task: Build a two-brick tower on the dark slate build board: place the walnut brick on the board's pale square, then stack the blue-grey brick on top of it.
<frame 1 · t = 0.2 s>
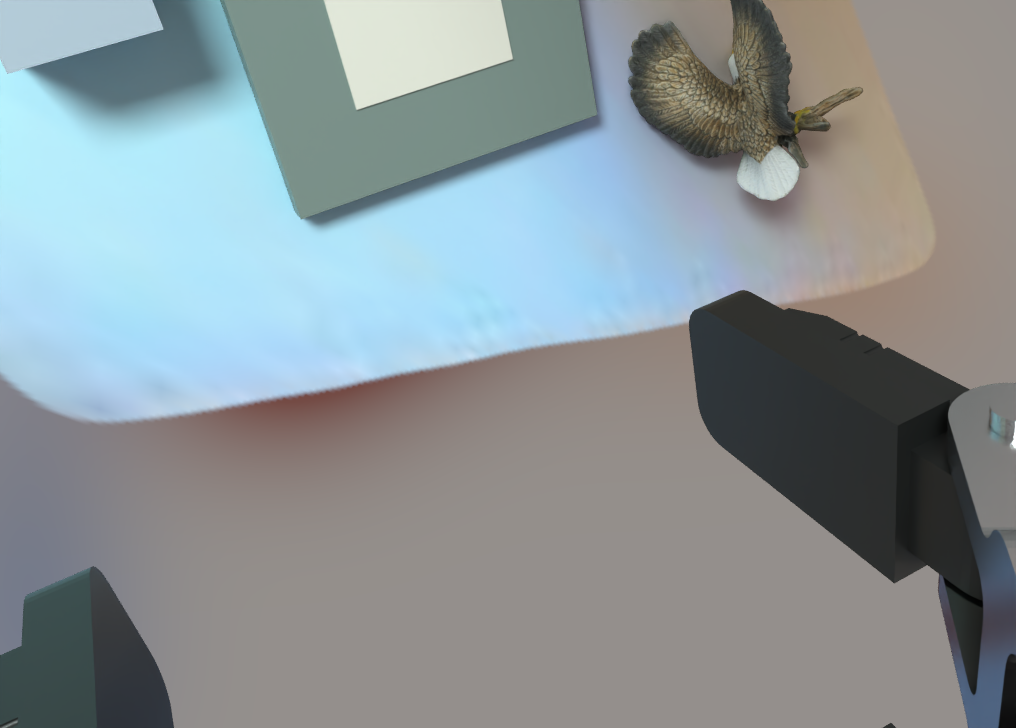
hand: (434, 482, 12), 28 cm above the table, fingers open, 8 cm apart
eagle figurine: (705, 84, 44), on the table
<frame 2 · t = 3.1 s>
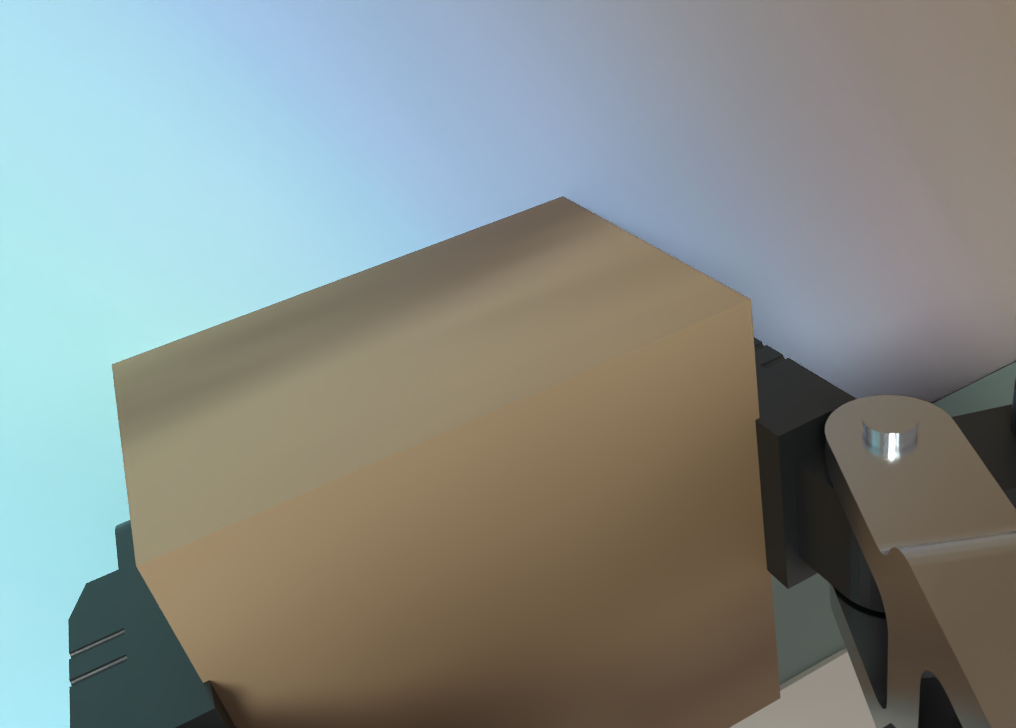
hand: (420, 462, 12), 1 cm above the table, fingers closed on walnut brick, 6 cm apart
walnut brick: (414, 461, 13), on the table, touching gripper
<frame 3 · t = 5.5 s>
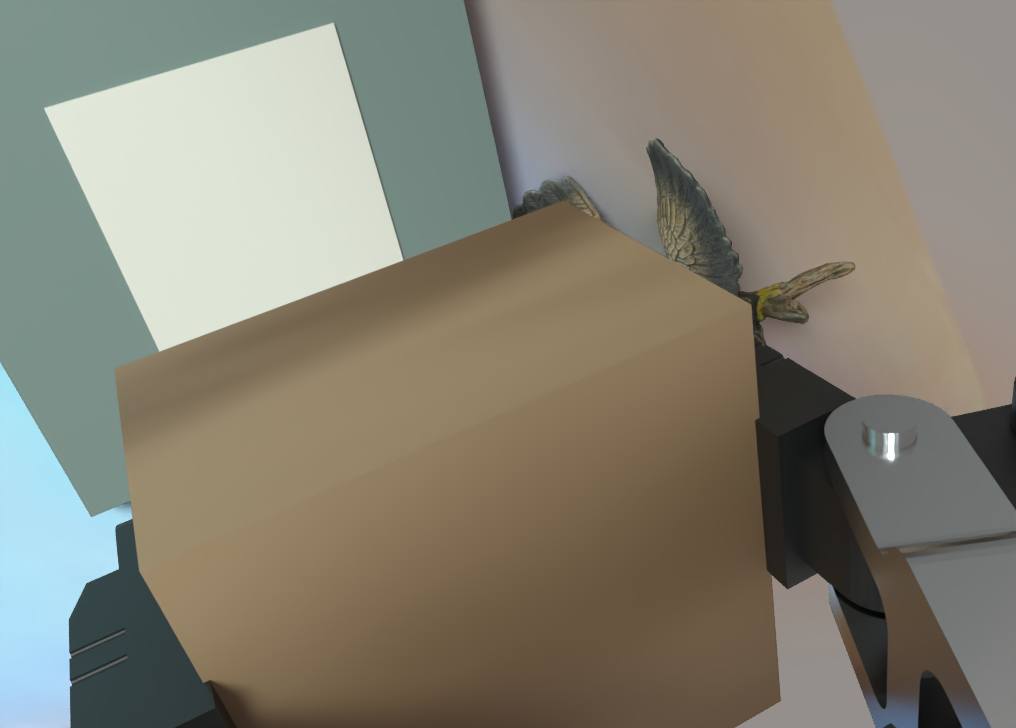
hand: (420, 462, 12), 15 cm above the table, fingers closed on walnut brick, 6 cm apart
walnut brick: (415, 465, 13), point 14 cm above the table, touching gripper
build board: (238, 188, 24), on the table
eagle figurine: (629, 249, 31), on the table
when the fingers open (2 cm above the table, at t = 8.2 s): walnut brick stays where it is, resting on build board.
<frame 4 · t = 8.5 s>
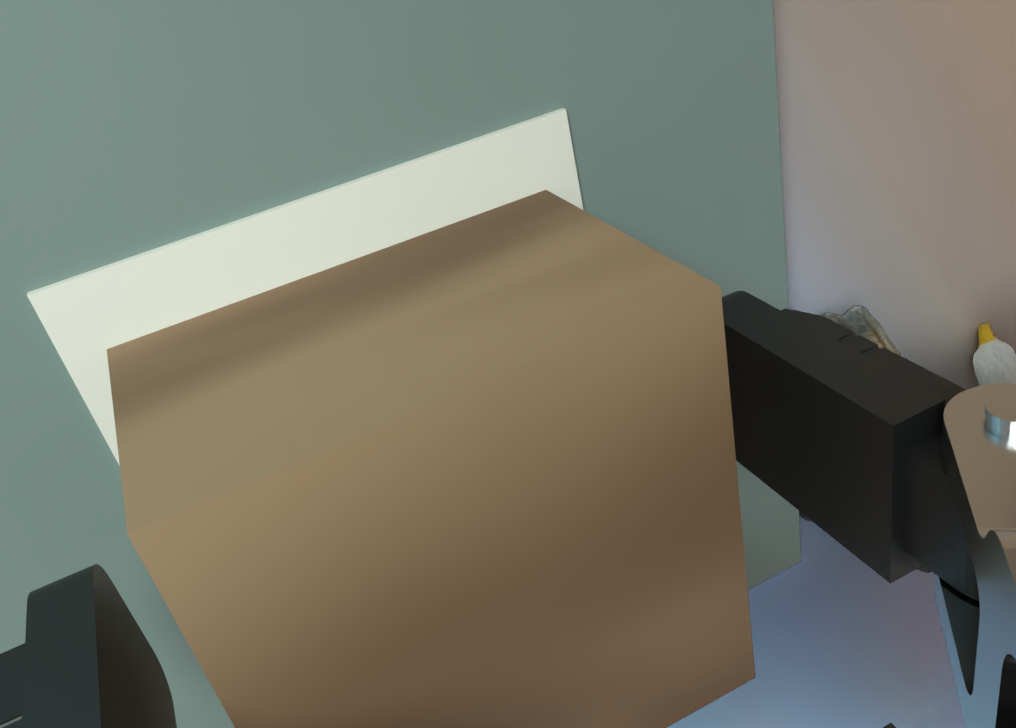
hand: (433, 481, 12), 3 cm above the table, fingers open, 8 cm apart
walnut brick: (401, 448, 13), point 1 cm above the table, touching build board
build board: (368, 384, 14), on the table
eagle figurine: (913, 399, 20), on the table, touching build board
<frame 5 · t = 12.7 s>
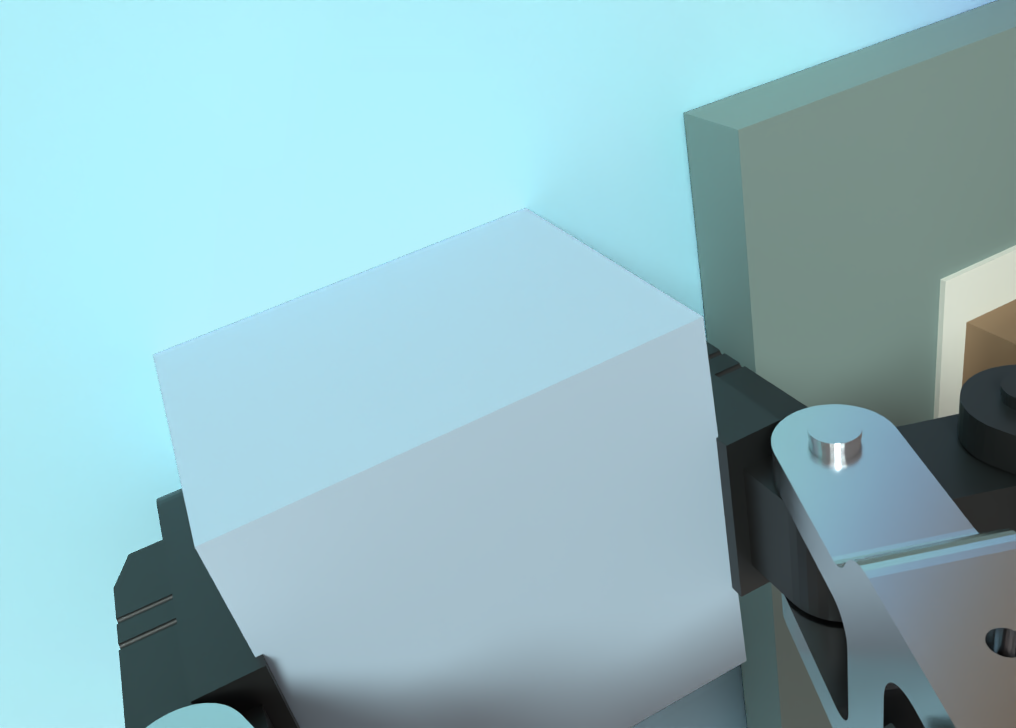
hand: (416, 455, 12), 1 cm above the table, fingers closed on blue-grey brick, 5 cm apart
blue-grey brick: (405, 434, 13), on the table, touching gripper
when the fingers open (6 cm above the table, at t = 17.8 s): blue-grey brick stays where it is, resting on walnut brick.
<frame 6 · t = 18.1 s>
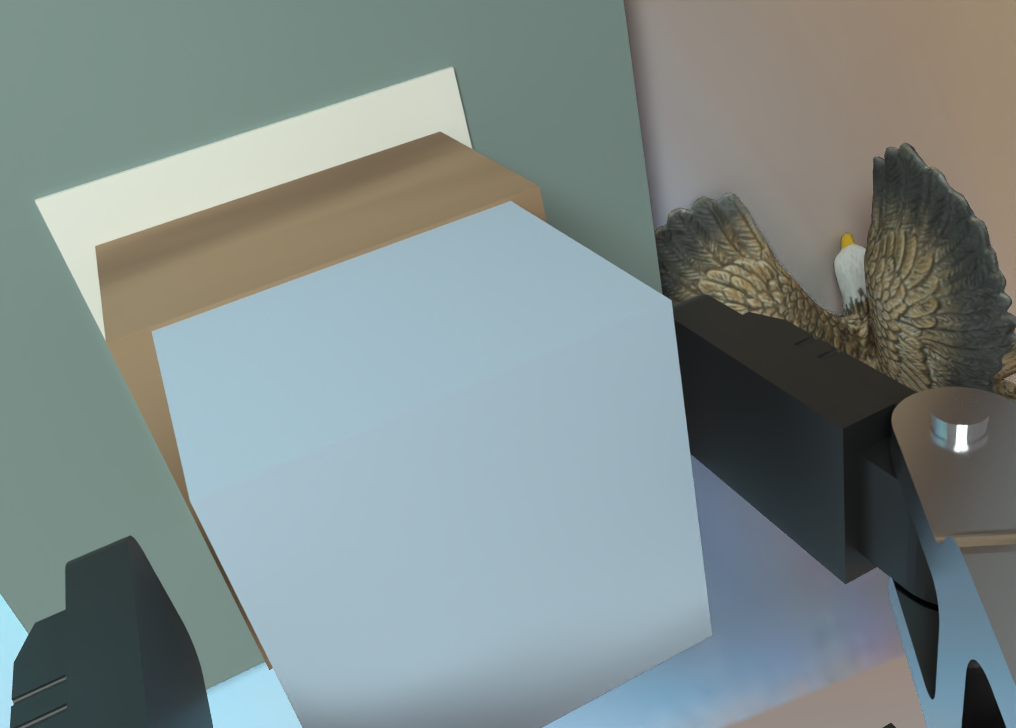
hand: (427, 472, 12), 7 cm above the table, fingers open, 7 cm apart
blue-grey brick: (391, 416, 13), point 5 cm above the table, touching walnut brick
walnut brick: (330, 338, 17), point 1 cm above the table, touching blue-grey brick, build board
build board: (307, 292, 17), on the table
eagle figurine: (784, 297, 23), on the table
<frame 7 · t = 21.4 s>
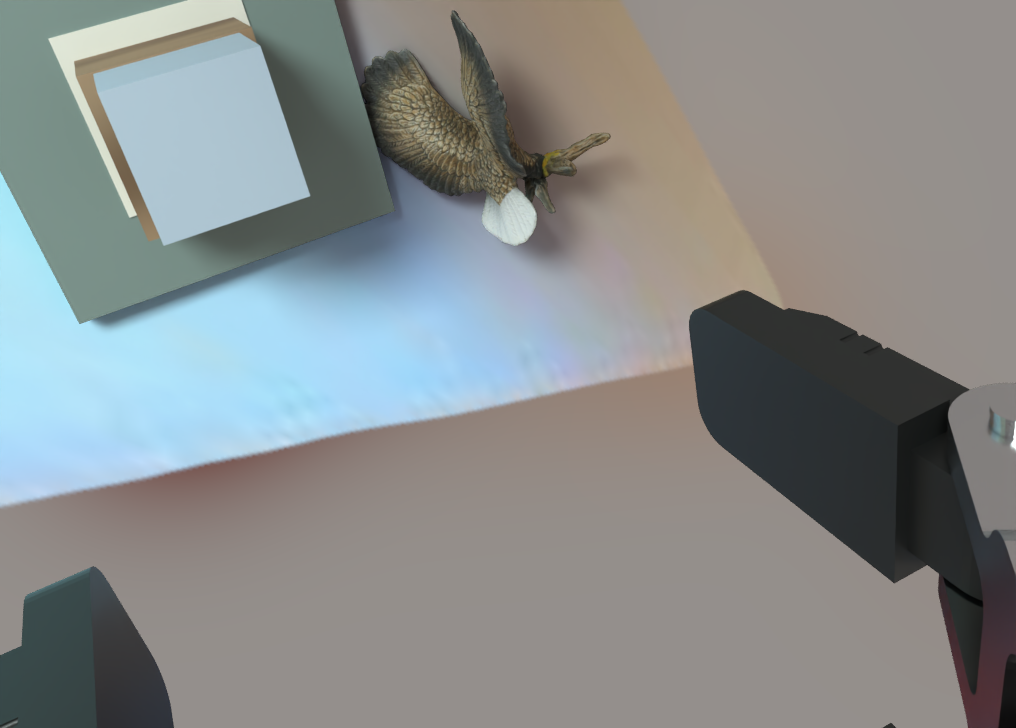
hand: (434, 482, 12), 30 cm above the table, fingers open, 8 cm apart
blue-grey brick: (195, 124, 32), point 5 cm above the table, touching walnut brick
walnut brick: (185, 116, 35), point 1 cm above the table, touching blue-grey brick, build board
build board: (178, 99, 36), on the table
eagle figurine: (456, 117, 42), on the table
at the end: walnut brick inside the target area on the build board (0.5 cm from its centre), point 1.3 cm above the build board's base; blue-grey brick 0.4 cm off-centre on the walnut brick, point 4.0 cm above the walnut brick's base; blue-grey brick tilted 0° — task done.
